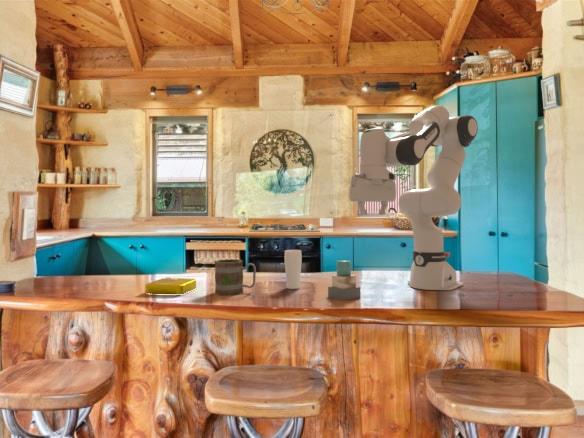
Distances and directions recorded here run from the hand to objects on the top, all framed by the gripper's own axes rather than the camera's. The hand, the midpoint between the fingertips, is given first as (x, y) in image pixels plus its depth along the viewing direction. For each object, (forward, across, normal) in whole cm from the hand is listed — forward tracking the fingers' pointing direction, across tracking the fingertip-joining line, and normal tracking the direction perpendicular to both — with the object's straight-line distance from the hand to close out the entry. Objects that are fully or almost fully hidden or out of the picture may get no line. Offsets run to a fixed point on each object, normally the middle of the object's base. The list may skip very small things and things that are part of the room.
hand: (373, 214), depth 141 cm
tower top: (+26, -6, +8) cm, 27 cm away
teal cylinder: (+22, -6, +8) cm, 24 cm away
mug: (+29, -33, +39) cm, 59 cm away
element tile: (+30, -51, +56) cm, 82 cm away
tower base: (+30, -6, +8) cm, 31 cm away
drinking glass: (+29, -11, +32) cm, 45 cm away
